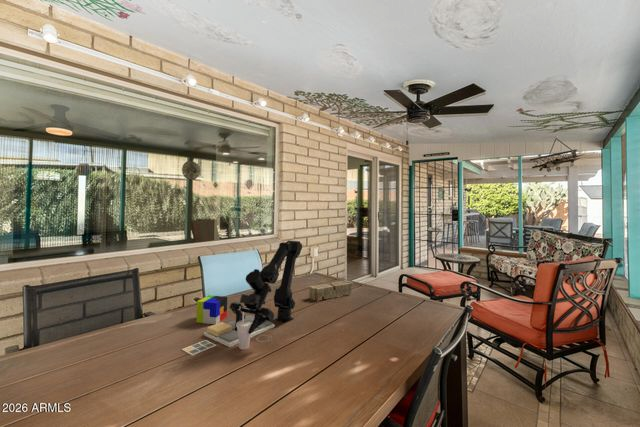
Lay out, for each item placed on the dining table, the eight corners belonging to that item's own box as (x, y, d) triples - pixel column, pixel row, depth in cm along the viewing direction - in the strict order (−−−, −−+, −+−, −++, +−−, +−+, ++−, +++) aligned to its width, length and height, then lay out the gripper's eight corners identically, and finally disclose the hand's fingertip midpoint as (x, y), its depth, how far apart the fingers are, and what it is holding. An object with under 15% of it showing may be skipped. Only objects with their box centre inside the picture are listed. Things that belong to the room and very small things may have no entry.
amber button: (221, 326, 131) (221, 322, 131) (231, 331, 127) (232, 326, 127) (207, 332, 125) (207, 327, 125) (217, 336, 121) (217, 331, 121)
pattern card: (205, 340, 120) (205, 339, 120) (216, 345, 116) (216, 344, 116) (182, 349, 112) (182, 348, 112) (192, 355, 108) (192, 354, 108)
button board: (249, 318, 146) (249, 313, 145) (274, 326, 136) (274, 322, 136) (203, 335, 125) (204, 330, 125) (229, 347, 115) (229, 342, 115)
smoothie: (237, 343, 118) (238, 309, 118) (253, 343, 119) (254, 309, 119) (234, 351, 112) (234, 314, 112) (251, 351, 113) (251, 314, 112)
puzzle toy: (215, 324, 137) (216, 303, 136) (196, 322, 139) (196, 301, 138) (226, 316, 146) (227, 296, 146) (208, 314, 148) (209, 295, 148)
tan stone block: (315, 303, 173) (353, 294, 190) (316, 289, 173) (353, 281, 189) (308, 299, 180) (345, 291, 196) (308, 286, 179) (345, 279, 196)
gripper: (232, 282, 122) (212, 318, 112) (271, 288, 115) (254, 327, 105) (243, 296, 130) (226, 330, 120) (280, 302, 123) (265, 340, 113)
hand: (242, 332), depth 114 cm, fingers closed on smoothie, 6 cm apart
